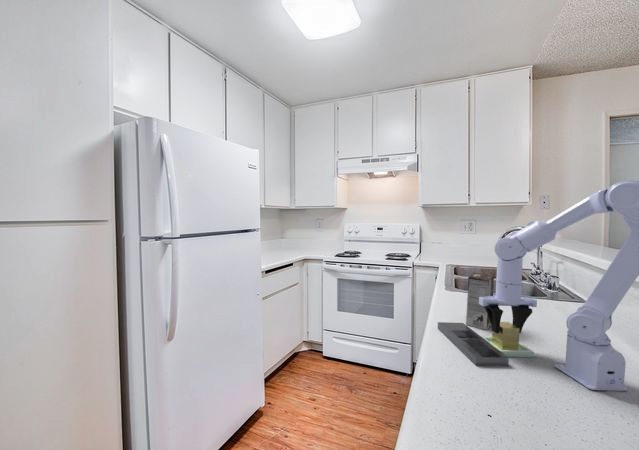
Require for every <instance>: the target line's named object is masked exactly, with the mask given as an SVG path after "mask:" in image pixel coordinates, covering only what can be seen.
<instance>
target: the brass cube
mask: <svg viewBox="0 0 639 450" xmlns="http://www.w3.org/2000/svg"><path fill="white" fill-rule="evenodd" d="M519 330H520V328H518V327H516V326H515V325H513V323H511V322H509V321H500V330H499V333H495V332H493V331H492V330H491V331H492V332H491V333H492V343H493V344H494V345H495V346H497V347H498V348H499V349H501V350H518V347H519V343H520V334H519Z"/></svg>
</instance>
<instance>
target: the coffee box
mask: <svg viewBox="0 0 639 450" xmlns="http://www.w3.org/2000/svg"><path fill="white" fill-rule="evenodd" d="M467 277H468V280H467V298H466V301H467V302H466V316H465V319H466V320H465V325H467V326H468V327H469V326H470V327H475V328H477V329H480V330H481V329H482V330H485V331H487V330H488V329H489V327H490V326H491V323H490V320H489V317H488V314H487V312H486V310H485V308H484V306H482V305H480V304H479V297H488V296H494V286H495V275H492V274H486V273H479V272H473V273H472V274H470V275H469V276H467Z"/></svg>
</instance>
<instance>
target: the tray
mask: <svg viewBox="0 0 639 450" xmlns="http://www.w3.org/2000/svg"><path fill="white" fill-rule="evenodd" d="M480 336H481V337H482V338H484V339H485V340H486V341H488V342H489V343H490V344H491V345H493V346H494V347H495V348H497V349H498V350H499V351H501V352H502V353H503V354H505V355H506V356H507V357H509V358H534V357H535V351H533V350H532V349H530V348H529V347H528V346H526V345H524V344H522V343H521V342H519V347H518V350H501V349H499V348H498V347H497V346H495V345H494V344H493V343H492V336H489V335H488V336H484V335H483V336H482V335H480Z"/></svg>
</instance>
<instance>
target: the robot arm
mask: <svg viewBox="0 0 639 450" xmlns="http://www.w3.org/2000/svg"><path fill="white" fill-rule="evenodd" d="M614 212H617V213H618V214H620V215H621V216H622V217H623V219H624V221H625V222H626V224H627V225H628V227H629V229H630V230H631V232H630V234H629V235H628V237H627V238H626V240H625V242H624V243H623V244H622V246H621V248H620V249H619V251H618V252H617V254H616V255H615V257H614V258H613V259H612V261H611V263H610V264H609V266H608V267H607V269H606V270H605V272H604V274H603V275H602V277H601V278H600V280H599V281H598V283H597V284H596V286H595V287H594V289H593V291H592V292H591V294H590V295H589V297H588V298H587V299H586V300H585V301H584V303H582V306H579V307H578V308H577V310H575V312H573V313H571V314H569V315H568V316H567V319H566V328H567V332H566V333H567V334H566V346H565V347H566V348H565V349H566V350H565V351H566V352H565V364H554V367H555V368H557V369H558V370H559V371H561V372H562V373H564V374H565V375H567V376H569V377H570V378H571V379H573V380H575V381H577V382H578V383H579V384H580V385H582V386H584V387H586V388H587V389H589V390H591V391H628V387H626V386H625V377H626V376H625V374H626V365H627V364H626V359H625V356H624V355H623V354H622V353H621V352H620V351H618V350H616V349H615V348H614V347H613V345H612V343H611V341H612V340H611V338H609V335H608V334H607V333H606V332H607V331H608V330H609V329H610V328H611V327H612V324H613V320H612V316H613V313H614V312H615V311H616V310H617V308H618V306H619V305H620V303H621V301H622V300H623V299H624V297H625V296H626V294H627V293H628V292H629V290H630V289H631V287H632V285H634V283H635V282H636V281H637V279H638V277H639V180H635V179H634V180H633V179H628V180H627V179H626V180H621V181H619V182H616V183H614V184H613V185H611V186H610V187H609V188H604V189H601V190H599V191H597V192H595V193H593V194H591V195H589V196H588V197H585V198H584V199H582V200H581V201H579V202H577V203H575V204H574V205H573V206H571V207H569V208H567V209H565V210H564V211H562V212H560V213H559V214H557V215H555V216H553V217H552V218H551V219H549V220H547V221H545V220H536V221H534V220H532V221H529V222H527V223H526V225H527V226H525V227H524V228H522V229H519V230H518V231H516V232H515V231H514V232H511V233H510V234H509V236H510V237H502V238H500V239H499V240H498V241H497V242H495V245H494V252H495V255H496V256H497V263H496V275H495V276H496V277H495V278H496V280H495V281H496V282H495V295H493V296H488V297H479V304H480V305H482V306H484V308H485V310H486V312H487V314H488V317H489V320H490V323H491V324H490V326H491V331H493V332H495V333H499V330H500V322H501V318H502V316H503V313H504V310H503V309H501V308H500V307H499V306H501V307H502V306H503V307H511V314H512V324H513V325H515V326H516V327H518V328H520V330H519V335H520V334H521V333H522V331H523V327H524V325H525V323H526V321H527V320H528V319H529V317H530V316H531V315H532V314H533V309H532V308H537V307H538V306H537V305H538V300H537V299H535V298H531V297H522V283H523V282H522V280H523V260H524V259H523V257H525V256H526V254H528V253H531V252H532V251H534V250H536V249H538V248H541V247H543V246H544V245H547V244H549V243H550V242H552V241H554V240H555V238H556V235H557V233H558V232H560V231H562V230H564V229H566V228H568V227H570V226H572V225H574V224H576V223H579V222H580V221H582V220H584V219H586V218H588V217H591V216H592V215H595V214H597V215H598V214H605V213H614ZM530 307H531V308H530Z"/></svg>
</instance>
